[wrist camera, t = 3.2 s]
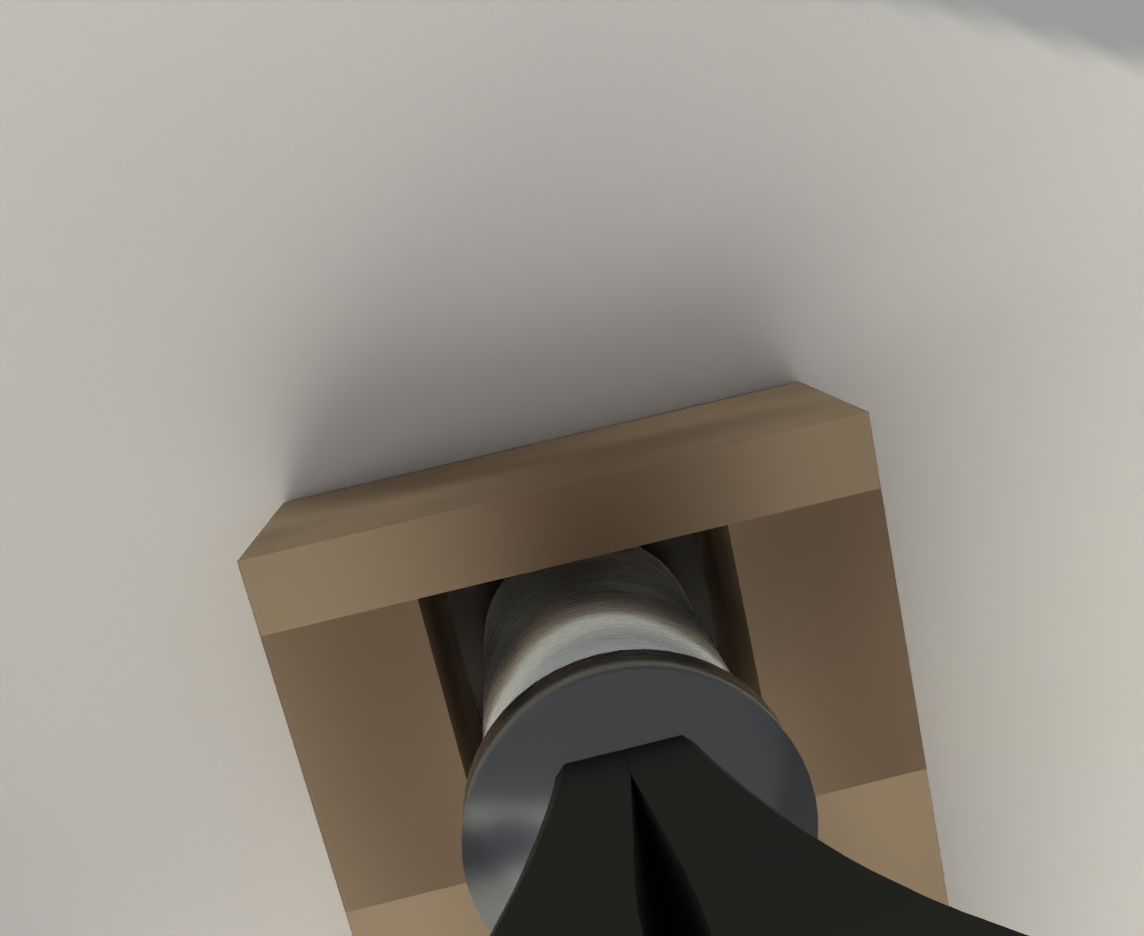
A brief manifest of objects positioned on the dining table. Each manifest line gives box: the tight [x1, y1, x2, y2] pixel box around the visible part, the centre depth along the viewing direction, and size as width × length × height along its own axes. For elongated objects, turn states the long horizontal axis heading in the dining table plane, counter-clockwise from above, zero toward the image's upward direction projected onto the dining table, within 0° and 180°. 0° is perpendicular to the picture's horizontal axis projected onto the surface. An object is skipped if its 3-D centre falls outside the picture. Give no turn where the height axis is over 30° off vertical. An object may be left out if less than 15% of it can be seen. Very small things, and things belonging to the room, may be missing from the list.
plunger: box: [462, 546, 818, 932], centre depth 13 cm, size 4×4×6 cm
